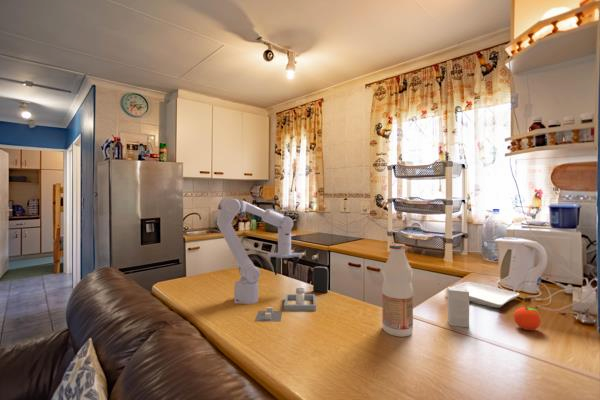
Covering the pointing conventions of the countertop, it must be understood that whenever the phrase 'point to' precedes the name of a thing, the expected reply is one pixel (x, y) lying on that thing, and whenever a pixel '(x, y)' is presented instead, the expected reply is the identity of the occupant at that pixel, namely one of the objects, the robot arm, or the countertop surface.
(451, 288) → the skincare box
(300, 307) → the parts tray
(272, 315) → the plate
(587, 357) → the countertop surface
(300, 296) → the cylinder
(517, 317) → the red tomato
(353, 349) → the countertop surface
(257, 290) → the robot arm
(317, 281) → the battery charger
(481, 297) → the salad plate
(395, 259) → the fruit juice
